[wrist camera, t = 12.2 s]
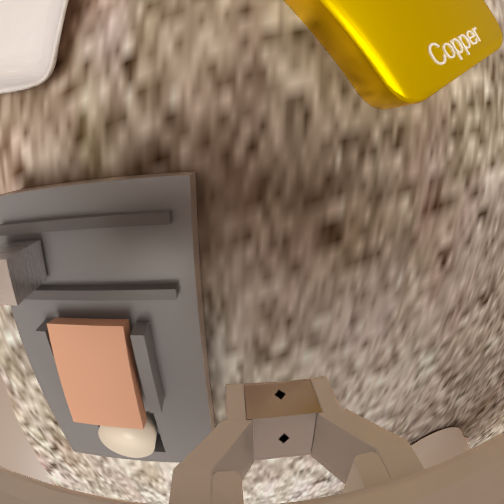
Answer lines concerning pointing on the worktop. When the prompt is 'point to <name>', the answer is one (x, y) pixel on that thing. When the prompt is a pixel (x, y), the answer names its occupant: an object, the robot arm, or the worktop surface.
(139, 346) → the control panel
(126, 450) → the push button
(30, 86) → the salad plate
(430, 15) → the element tile
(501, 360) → the worktop surface
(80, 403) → the rocker switch
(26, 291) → the slider lever
